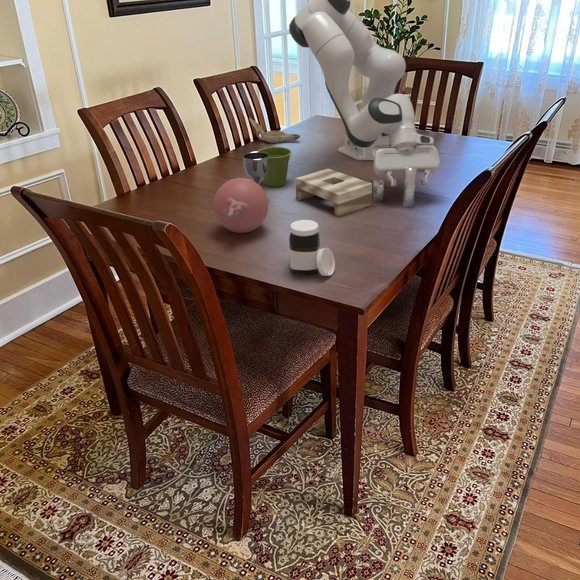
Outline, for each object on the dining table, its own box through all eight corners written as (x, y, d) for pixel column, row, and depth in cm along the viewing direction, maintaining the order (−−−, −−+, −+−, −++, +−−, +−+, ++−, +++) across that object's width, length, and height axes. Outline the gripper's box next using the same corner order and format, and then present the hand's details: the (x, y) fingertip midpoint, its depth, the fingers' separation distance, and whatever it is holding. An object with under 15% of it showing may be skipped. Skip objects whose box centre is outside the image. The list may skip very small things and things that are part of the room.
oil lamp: (253, 138, 255) (251, 114, 250) (302, 139, 251) (301, 115, 246) (248, 144, 248) (246, 120, 243) (298, 145, 244) (298, 121, 239)
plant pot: (251, 184, 204) (249, 152, 199) (275, 175, 212) (273, 144, 206) (275, 192, 197) (274, 159, 191) (299, 183, 204) (299, 150, 199)
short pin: (370, 199, 189) (371, 181, 186) (377, 196, 191) (378, 178, 188) (378, 201, 187) (378, 183, 184) (385, 199, 189) (386, 181, 186)
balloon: (202, 246, 162) (196, 193, 154) (226, 218, 179) (221, 169, 171) (256, 251, 159) (253, 197, 151) (275, 222, 176) (273, 171, 168)
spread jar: (290, 258, 154) (289, 217, 149) (333, 258, 154) (334, 216, 148) (288, 281, 144) (287, 237, 138) (335, 280, 144) (336, 237, 138)
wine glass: (274, 198, 192) (273, 153, 185) (263, 207, 186) (261, 160, 179) (253, 195, 195) (250, 150, 188) (241, 203, 189) (238, 157, 182)
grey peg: (400, 205, 184) (403, 167, 178) (407, 202, 186) (410, 165, 180) (408, 208, 182) (411, 170, 176) (415, 205, 184) (418, 168, 178)
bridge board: (296, 199, 191) (295, 178, 188) (328, 188, 199) (328, 168, 195) (338, 216, 178) (339, 194, 174) (371, 204, 185) (372, 183, 182)
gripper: (372, 140, 180) (377, 182, 177) (438, 137, 181) (444, 178, 178) (369, 150, 187) (373, 191, 183) (433, 147, 188) (438, 188, 184)
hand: (409, 185), depth 180 cm, fingers open, 8 cm apart
